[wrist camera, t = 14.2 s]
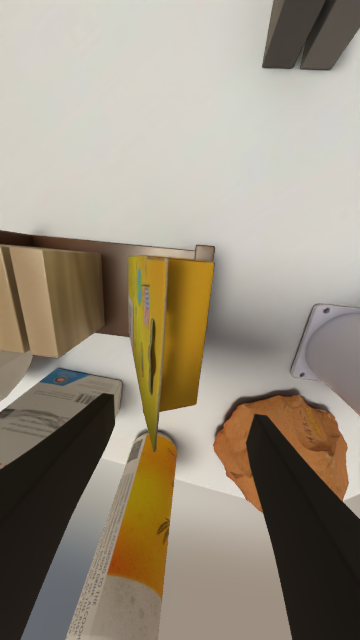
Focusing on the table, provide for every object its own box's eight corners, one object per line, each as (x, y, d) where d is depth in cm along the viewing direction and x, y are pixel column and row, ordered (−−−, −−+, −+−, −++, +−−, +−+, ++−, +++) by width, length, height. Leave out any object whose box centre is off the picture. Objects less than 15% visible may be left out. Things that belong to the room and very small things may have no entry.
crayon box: (158, 333, 18) (215, 441, 8) (128, 335, 17) (146, 461, 7) (162, 257, 16) (252, 263, 5) (127, 253, 15) (154, 254, 4)
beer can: (159, 465, 26) (115, 713, 12) (126, 443, 25) (35, 682, 11) (186, 445, 24) (172, 709, 10) (151, 421, 23) (81, 671, 9)
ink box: (58, 397, 23) (-67, 521, 12) (56, 366, 22) (-91, 476, 11) (120, 410, 23) (50, 549, 12) (123, 380, 22) (44, 508, 10)
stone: (231, 368, 23) (300, 412, 13) (318, 391, 26) (425, 440, 16) (197, 480, 22) (240, 611, 13) (288, 489, 26) (379, 599, 16)
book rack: (212, 252, 16) (225, 247, 9) (199, 341, 19) (201, 390, 12) (26, 235, 17) (-96, 216, 10) (41, 322, 20) (-45, 356, 13)
